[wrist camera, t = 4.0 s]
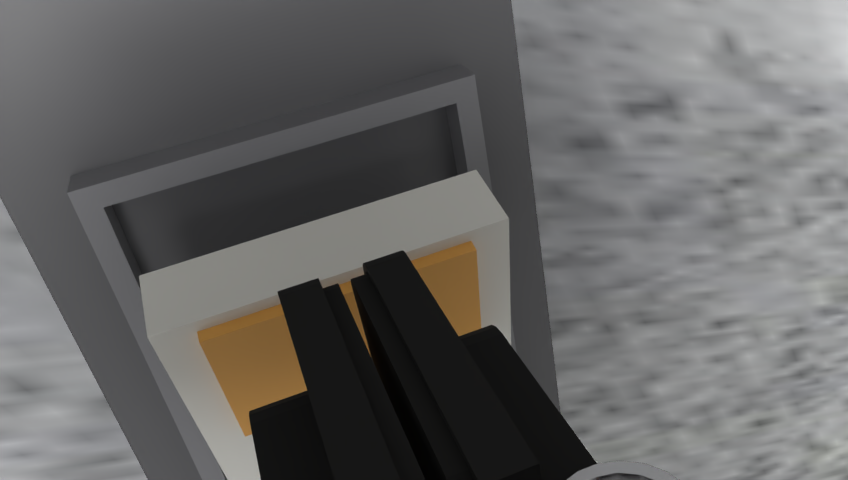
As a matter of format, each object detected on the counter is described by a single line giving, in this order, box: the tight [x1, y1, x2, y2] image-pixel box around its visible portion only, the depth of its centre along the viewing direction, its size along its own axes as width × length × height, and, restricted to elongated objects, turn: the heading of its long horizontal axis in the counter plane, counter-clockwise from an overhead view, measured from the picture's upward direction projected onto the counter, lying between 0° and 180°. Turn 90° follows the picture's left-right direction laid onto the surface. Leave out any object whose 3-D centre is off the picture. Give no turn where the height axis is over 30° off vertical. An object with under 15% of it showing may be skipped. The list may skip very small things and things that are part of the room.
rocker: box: [139, 170, 511, 480], centre depth 14 cm, size 8×5×1 cm, turn 10°
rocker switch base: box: [0, 0, 560, 480], centre depth 13 cm, size 26×9×4 cm, turn 10°
